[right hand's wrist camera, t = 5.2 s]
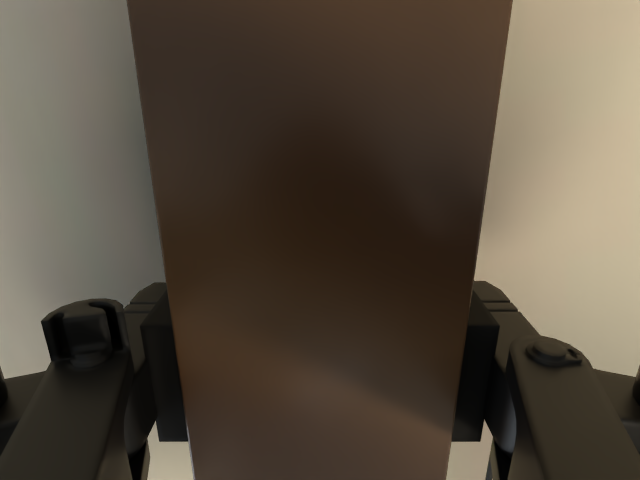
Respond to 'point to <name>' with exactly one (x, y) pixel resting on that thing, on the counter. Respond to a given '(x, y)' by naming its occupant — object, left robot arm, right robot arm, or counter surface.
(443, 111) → the post
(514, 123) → the counter surface
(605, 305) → the counter surface
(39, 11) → the counter surface
